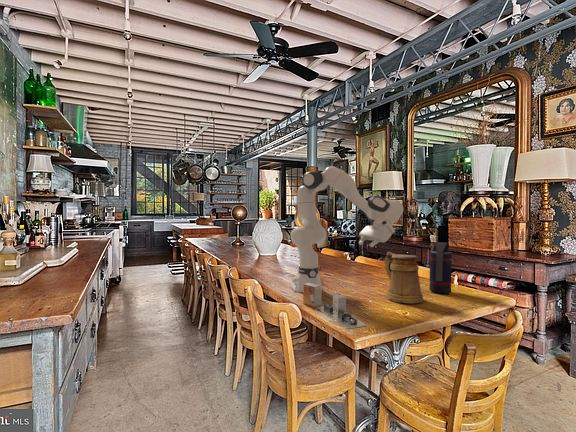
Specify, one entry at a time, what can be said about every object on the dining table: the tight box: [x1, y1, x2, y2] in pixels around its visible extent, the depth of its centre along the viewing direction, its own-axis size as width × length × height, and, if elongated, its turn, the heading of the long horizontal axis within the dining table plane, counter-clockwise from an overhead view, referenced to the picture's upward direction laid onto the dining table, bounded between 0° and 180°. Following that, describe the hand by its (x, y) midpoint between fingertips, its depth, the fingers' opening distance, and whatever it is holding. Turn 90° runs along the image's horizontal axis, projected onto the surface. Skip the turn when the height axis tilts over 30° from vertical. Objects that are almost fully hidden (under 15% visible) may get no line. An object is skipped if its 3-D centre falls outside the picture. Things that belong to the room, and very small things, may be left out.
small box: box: [302, 283, 323, 308], centre depth 172 cm, size 8×6×10 cm
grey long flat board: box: [315, 303, 368, 330], centre depth 154 cm, size 30×10×4 cm, turn 21°
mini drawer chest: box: [332, 294, 347, 318], centre depth 154 cm, size 5×4×9 cm
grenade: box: [428, 241, 453, 295], centre depth 197 cm, size 14×12×30 cm
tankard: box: [384, 251, 424, 304], centre depth 183 cm, size 18×24×25 cm
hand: (365, 245), depth 169 cm, fingers open, 8 cm apart
